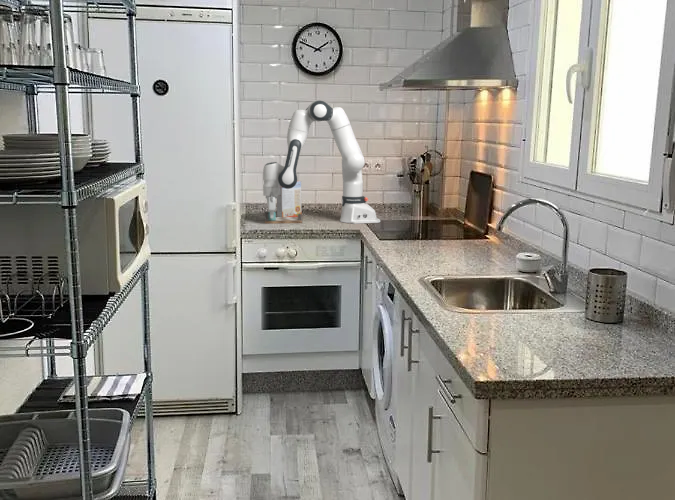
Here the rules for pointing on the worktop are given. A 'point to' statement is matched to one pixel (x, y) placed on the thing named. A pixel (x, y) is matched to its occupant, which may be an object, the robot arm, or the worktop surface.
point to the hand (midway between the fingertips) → (271, 217)
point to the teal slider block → (273, 217)
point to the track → (283, 219)
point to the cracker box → (289, 201)
